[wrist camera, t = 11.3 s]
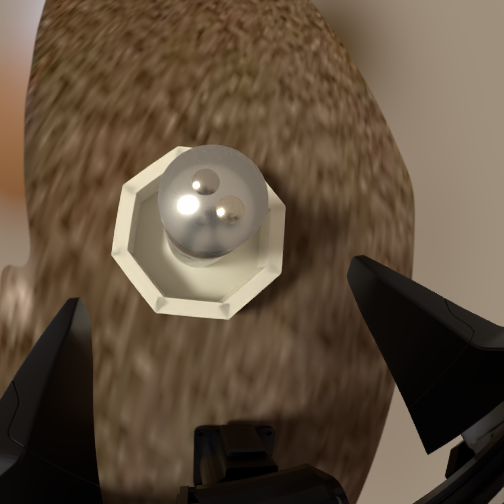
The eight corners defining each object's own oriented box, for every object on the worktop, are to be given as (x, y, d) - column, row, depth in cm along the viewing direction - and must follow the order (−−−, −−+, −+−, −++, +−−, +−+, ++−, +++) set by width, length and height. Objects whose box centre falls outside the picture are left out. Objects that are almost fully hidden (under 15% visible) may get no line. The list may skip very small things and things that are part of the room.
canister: (235, 259, 22) (282, 236, 12) (175, 274, 20) (170, 263, 11) (220, 201, 22) (253, 135, 12) (161, 214, 21) (148, 153, 11)
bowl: (263, 317, 23) (277, 322, 19) (117, 303, 20) (106, 306, 17) (273, 179, 24) (288, 163, 21) (138, 161, 22) (132, 141, 18)
